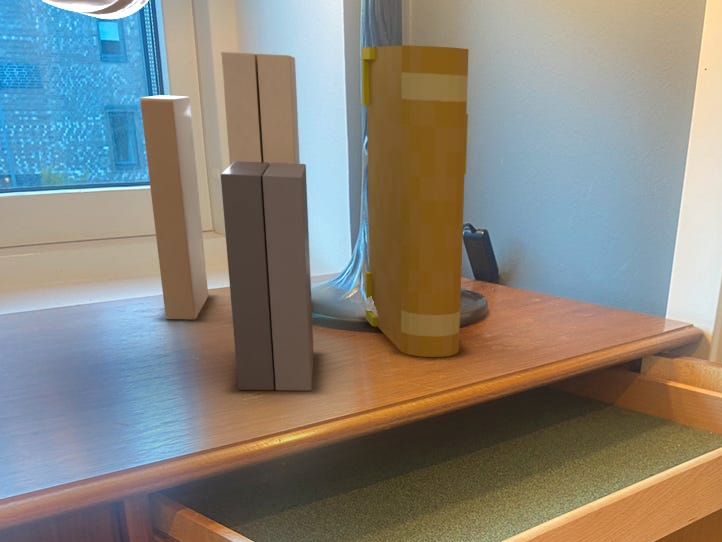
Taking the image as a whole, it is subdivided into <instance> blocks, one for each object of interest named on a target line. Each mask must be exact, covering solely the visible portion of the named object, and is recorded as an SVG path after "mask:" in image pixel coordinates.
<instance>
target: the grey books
mask: <svg viewBox="0 0 722 542" xmlns="http://www.w3.org/2000/svg"><path fill="white" fill-rule="evenodd" d="M307 184H308V183H307V165H306V163H300V164H291V163H271V164H270V163H265V162H240V161H235V162H234V163H233V164H232V165H231V166H230V165H229V166H228V167H227V168H225V170H224V171H223V172H222V173H220V185H221V195H222V197H221V198H222V207H223V220H224V221H223V222H224V233H225V244H226V254H227V255H226V257H227V271H228V281H229V292H230V306H231V316H232V328H233V340H234V341H233V342H234V354H235V355H234V356H235V365H236V366H235V367H236V377H237V379H236V380H237V388H238V391H291V392H292V391H295V392H296V391H297V392H299V391H300V392H306V391H307V392H310V391H311V392H312V386H313V373H314V372H313V371H314V370H313V369H314V355H315V354H314V327H313V307H312V306H313V305H312V284H311V283H312V282H311V281H312V280H311V259H310V234H309V212H308V211H309V208H308V187H307Z"/></svg>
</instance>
